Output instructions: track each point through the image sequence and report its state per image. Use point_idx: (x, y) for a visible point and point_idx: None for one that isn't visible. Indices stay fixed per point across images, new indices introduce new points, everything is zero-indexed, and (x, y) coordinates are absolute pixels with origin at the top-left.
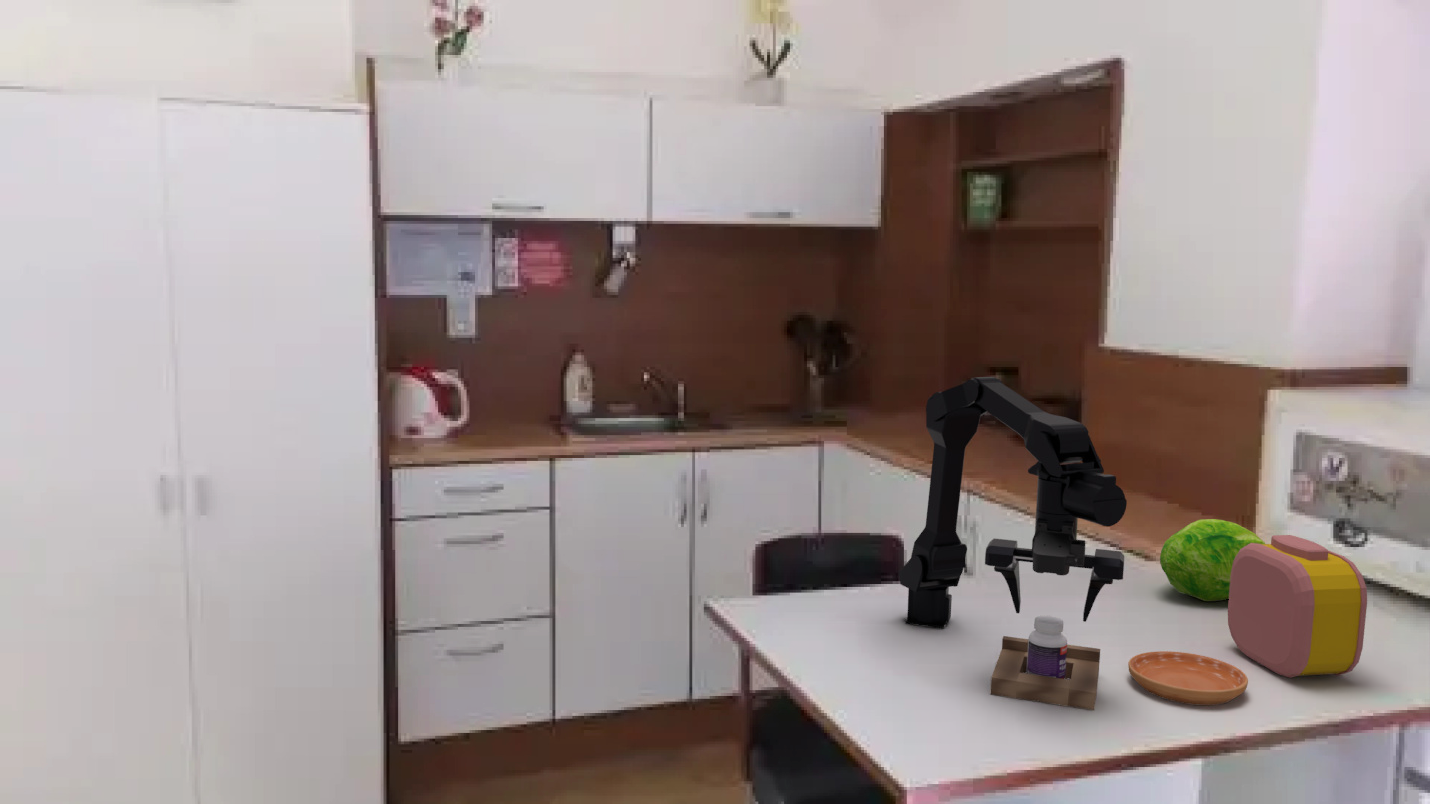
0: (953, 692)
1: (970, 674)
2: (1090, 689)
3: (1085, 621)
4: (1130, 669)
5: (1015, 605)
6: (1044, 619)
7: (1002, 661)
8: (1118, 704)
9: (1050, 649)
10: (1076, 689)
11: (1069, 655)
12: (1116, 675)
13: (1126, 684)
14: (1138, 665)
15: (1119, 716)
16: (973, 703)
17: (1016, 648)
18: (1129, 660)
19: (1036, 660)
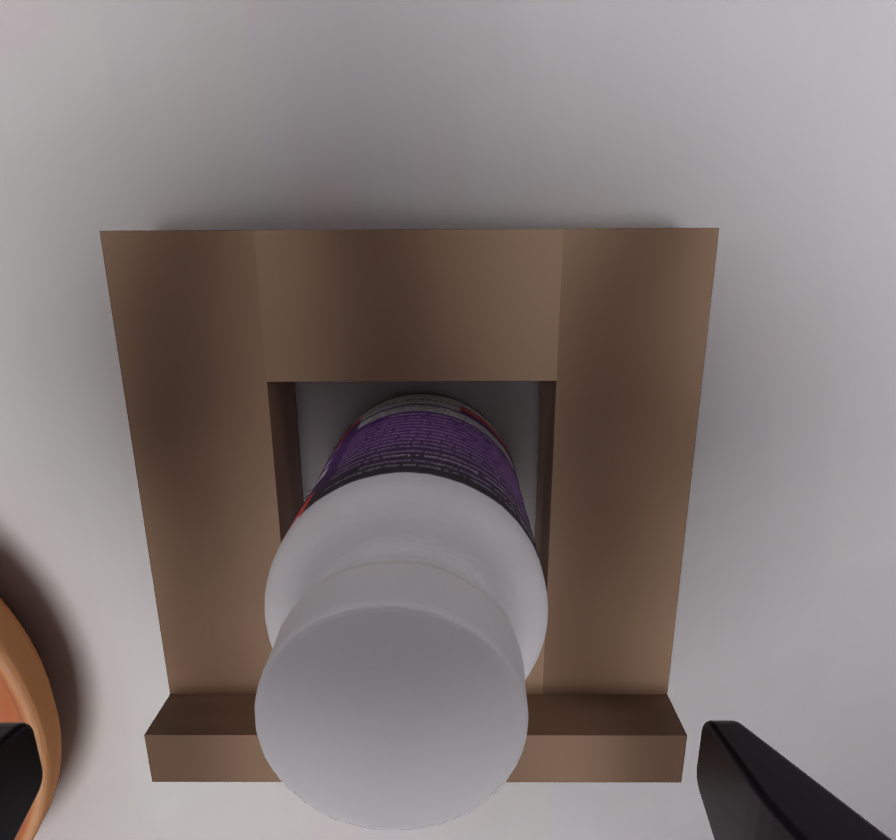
0: (875, 180)
1: (782, 467)
2: (137, 273)
3: (2, 722)
4: (17, 667)
5: (800, 781)
6: (435, 721)
7: (658, 514)
8: (64, 366)
9: (373, 469)
10: (211, 237)
11: None
12: (139, 702)
13: (80, 620)
14: None
15: (27, 206)
16: (766, 58)
17: (593, 704)
18: (43, 769)
19: (468, 446)
